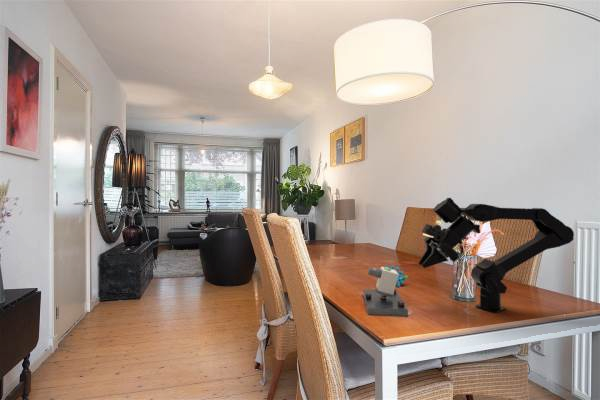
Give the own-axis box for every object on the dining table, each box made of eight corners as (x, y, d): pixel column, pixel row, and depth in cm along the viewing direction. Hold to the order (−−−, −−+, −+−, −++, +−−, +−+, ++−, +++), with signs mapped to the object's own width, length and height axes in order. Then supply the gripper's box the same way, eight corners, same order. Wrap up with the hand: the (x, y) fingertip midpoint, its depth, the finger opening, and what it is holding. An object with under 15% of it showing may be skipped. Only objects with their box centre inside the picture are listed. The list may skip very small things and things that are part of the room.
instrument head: (391, 292, 109) (397, 269, 109) (394, 298, 103) (400, 273, 103) (364, 285, 110) (370, 261, 110) (365, 290, 104) (371, 265, 104)
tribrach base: (396, 296, 116) (396, 287, 116) (408, 316, 96) (408, 305, 96) (363, 294, 117) (363, 286, 117) (368, 314, 97) (368, 304, 97)
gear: (380, 283, 127) (380, 262, 134) (378, 290, 131) (378, 270, 138) (408, 287, 126) (407, 266, 133) (405, 294, 130) (403, 274, 137)
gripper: (429, 214, 114) (398, 244, 115) (447, 217, 95) (410, 253, 96) (452, 236, 113) (420, 266, 114) (475, 243, 94) (436, 279, 95)
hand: (421, 265), depth 105 cm, fingers open, 4 cm apart
